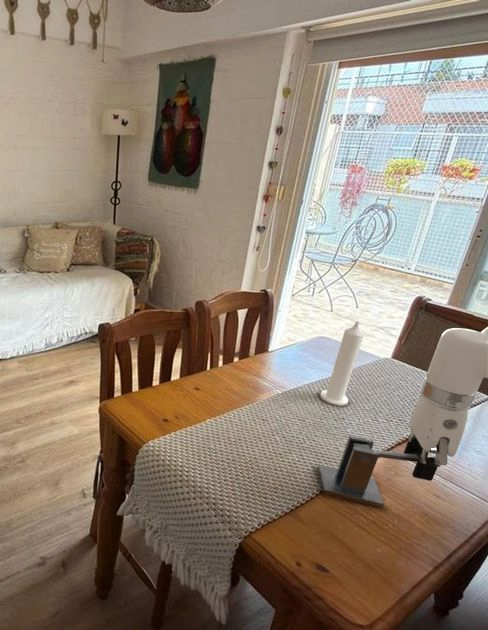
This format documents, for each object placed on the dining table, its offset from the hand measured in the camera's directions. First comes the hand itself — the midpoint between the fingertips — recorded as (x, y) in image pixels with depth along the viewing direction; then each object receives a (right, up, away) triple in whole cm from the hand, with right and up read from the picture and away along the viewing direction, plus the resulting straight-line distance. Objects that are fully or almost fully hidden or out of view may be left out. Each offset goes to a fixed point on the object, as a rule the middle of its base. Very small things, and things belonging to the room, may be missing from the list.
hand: (416, 467), depth 90 cm
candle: (+6, +6, +39) cm, 40 cm away
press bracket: (-10, -7, +7) cm, 14 cm away
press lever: (-5, +1, +2) cm, 5 cm away
